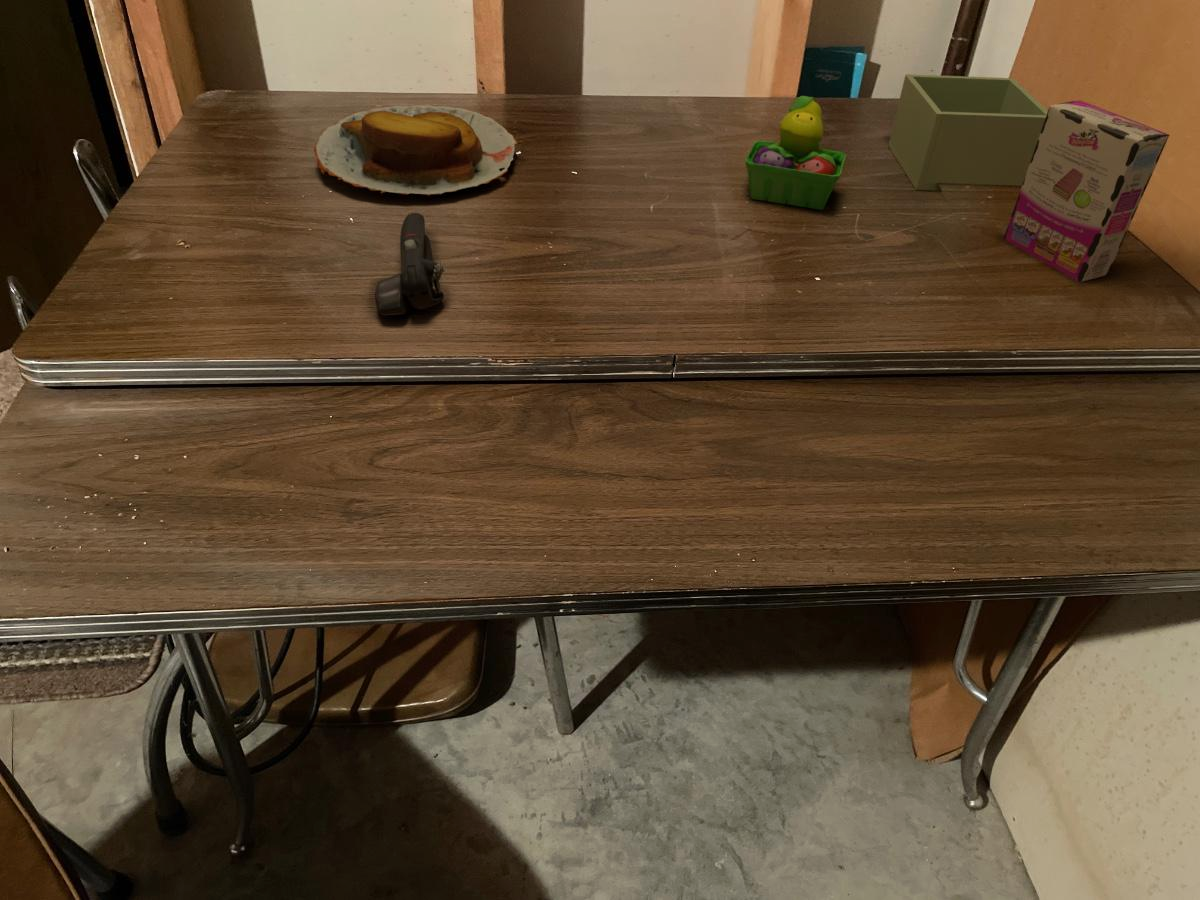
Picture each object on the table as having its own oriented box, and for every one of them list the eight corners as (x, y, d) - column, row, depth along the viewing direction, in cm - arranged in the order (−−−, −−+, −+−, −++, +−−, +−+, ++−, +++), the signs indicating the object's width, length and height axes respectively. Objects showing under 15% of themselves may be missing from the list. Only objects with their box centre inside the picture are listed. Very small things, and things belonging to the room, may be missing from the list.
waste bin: (990, 149, 128) (1013, 78, 122) (1028, 194, 117) (1055, 117, 111) (887, 146, 128) (905, 74, 122) (915, 190, 117) (936, 113, 111)
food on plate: (513, 126, 128) (512, 78, 124) (523, 204, 110) (522, 150, 105) (328, 127, 125) (320, 78, 121) (305, 207, 107) (295, 152, 102)
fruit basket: (738, 201, 112) (751, 109, 105) (751, 174, 119) (764, 85, 112) (831, 217, 110) (851, 123, 103) (839, 188, 116) (859, 98, 109)
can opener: (446, 325, 88) (442, 274, 85) (373, 327, 88) (365, 274, 84) (452, 240, 102) (448, 192, 98) (388, 240, 101) (382, 192, 98)
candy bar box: (1107, 282, 100) (1174, 133, 89) (1076, 291, 98) (1140, 141, 88) (1028, 238, 107) (1081, 97, 97) (997, 246, 106) (1048, 102, 95)
